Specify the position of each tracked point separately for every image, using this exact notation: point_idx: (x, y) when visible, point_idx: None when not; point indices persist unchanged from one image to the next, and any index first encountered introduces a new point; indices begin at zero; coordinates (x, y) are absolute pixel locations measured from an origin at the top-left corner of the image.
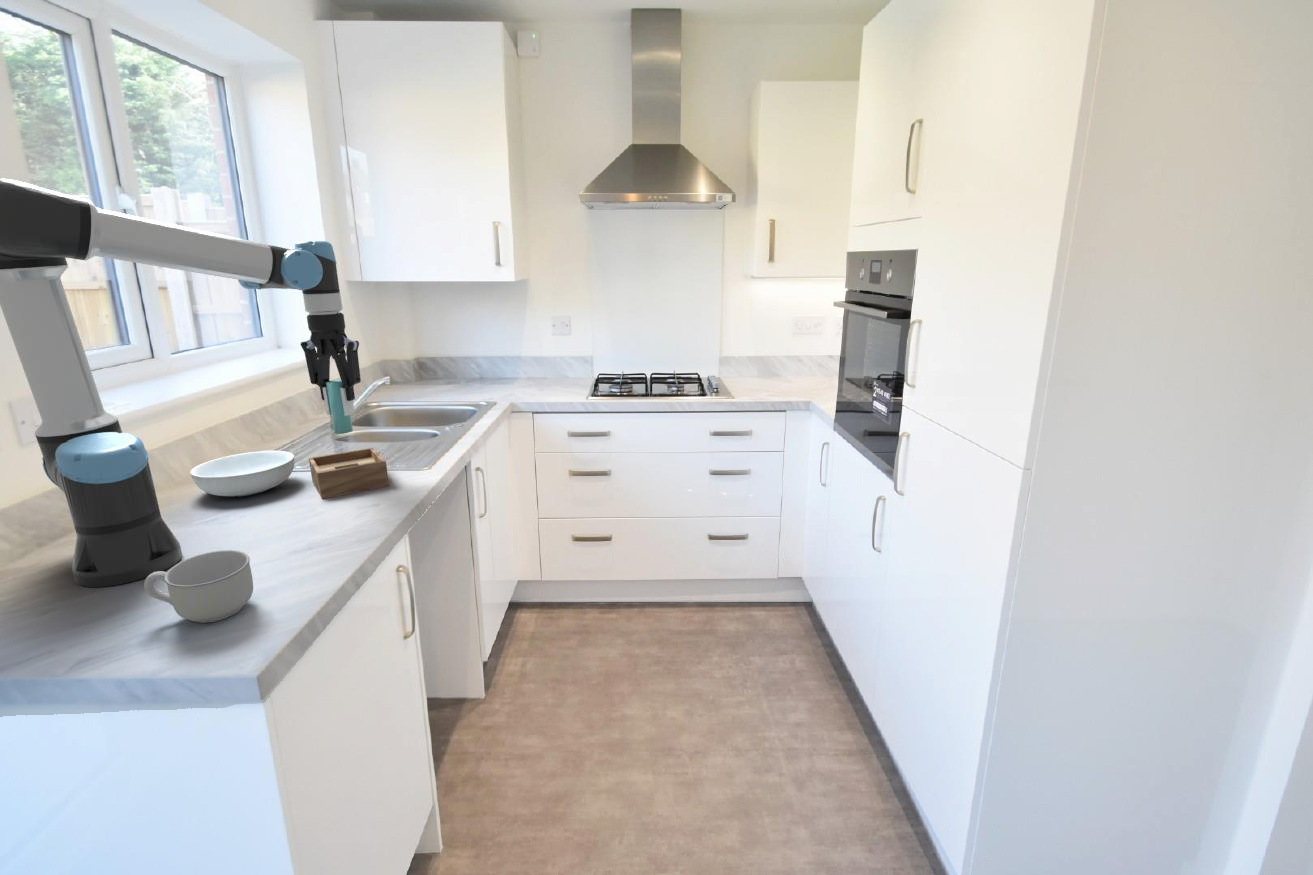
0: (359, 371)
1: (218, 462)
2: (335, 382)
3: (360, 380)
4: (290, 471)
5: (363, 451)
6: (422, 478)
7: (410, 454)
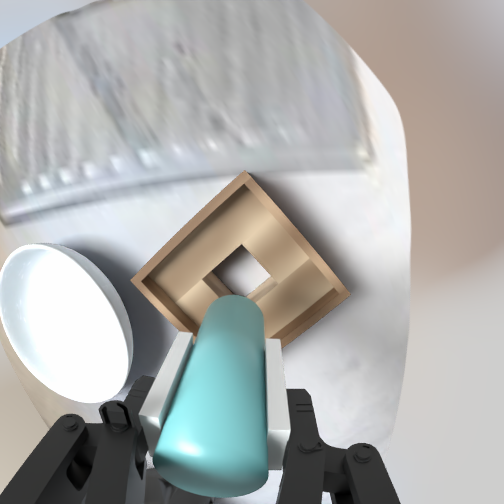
0: (397, 500)
1: (4, 299)
2: (231, 489)
3: (378, 454)
4: (125, 311)
5: (230, 195)
6: (384, 224)
7: (266, 49)
